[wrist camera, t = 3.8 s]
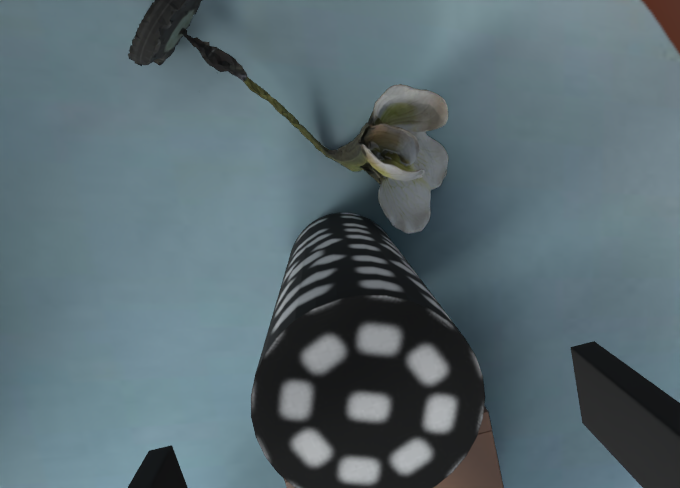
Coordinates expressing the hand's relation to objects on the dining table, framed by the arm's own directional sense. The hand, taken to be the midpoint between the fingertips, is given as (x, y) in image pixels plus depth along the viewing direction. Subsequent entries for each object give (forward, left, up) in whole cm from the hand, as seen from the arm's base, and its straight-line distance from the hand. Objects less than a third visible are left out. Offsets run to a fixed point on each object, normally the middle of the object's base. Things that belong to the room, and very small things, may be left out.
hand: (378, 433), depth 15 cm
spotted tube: (0, 0, -22) cm, 22 cm away
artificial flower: (+1, +12, -22) cm, 25 cm away
